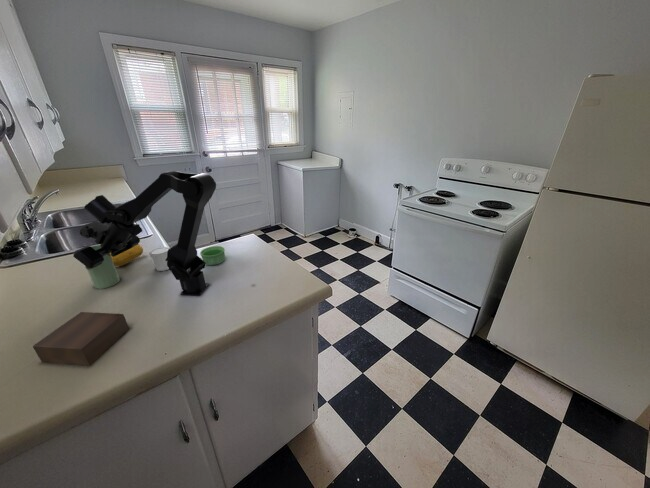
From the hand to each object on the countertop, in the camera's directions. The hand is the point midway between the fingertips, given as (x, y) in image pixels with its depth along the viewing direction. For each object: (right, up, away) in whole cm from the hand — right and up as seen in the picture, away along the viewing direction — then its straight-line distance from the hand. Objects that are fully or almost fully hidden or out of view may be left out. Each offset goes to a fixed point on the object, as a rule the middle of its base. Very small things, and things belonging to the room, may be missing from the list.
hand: (100, 262), depth 90 cm
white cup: (+13, -3, +13) cm, 19 cm away
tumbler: (-1, -7, +4) cm, 8 cm away
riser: (+16, -19, -23) cm, 34 cm away
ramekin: (+31, -1, +17) cm, 35 cm away
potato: (-4, +2, +16) cm, 16 cm away
